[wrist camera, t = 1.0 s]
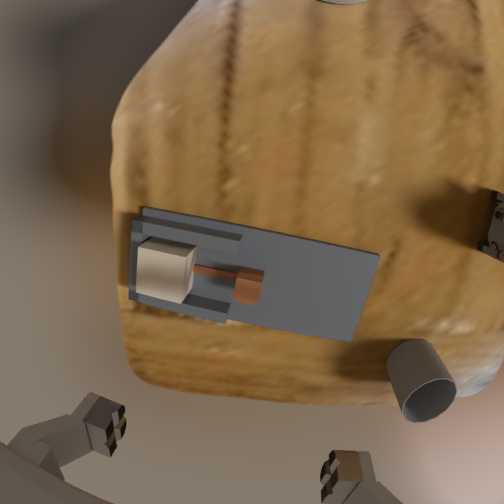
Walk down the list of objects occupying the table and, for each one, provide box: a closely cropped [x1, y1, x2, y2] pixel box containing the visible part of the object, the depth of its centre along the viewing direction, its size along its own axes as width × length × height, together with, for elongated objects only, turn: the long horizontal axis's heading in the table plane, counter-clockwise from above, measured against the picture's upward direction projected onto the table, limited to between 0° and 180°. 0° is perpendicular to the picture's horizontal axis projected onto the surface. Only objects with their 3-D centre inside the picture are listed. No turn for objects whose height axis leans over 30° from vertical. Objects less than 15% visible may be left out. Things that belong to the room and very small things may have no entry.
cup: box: [386, 339, 457, 423], centre depth 39 cm, size 8×8×10 cm
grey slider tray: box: [129, 207, 380, 342], centre depth 40 cm, size 13×31×4 cm, turn 80°
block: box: [136, 236, 265, 306], centre depth 39 cm, size 6×15×5 cm, turn 80°
